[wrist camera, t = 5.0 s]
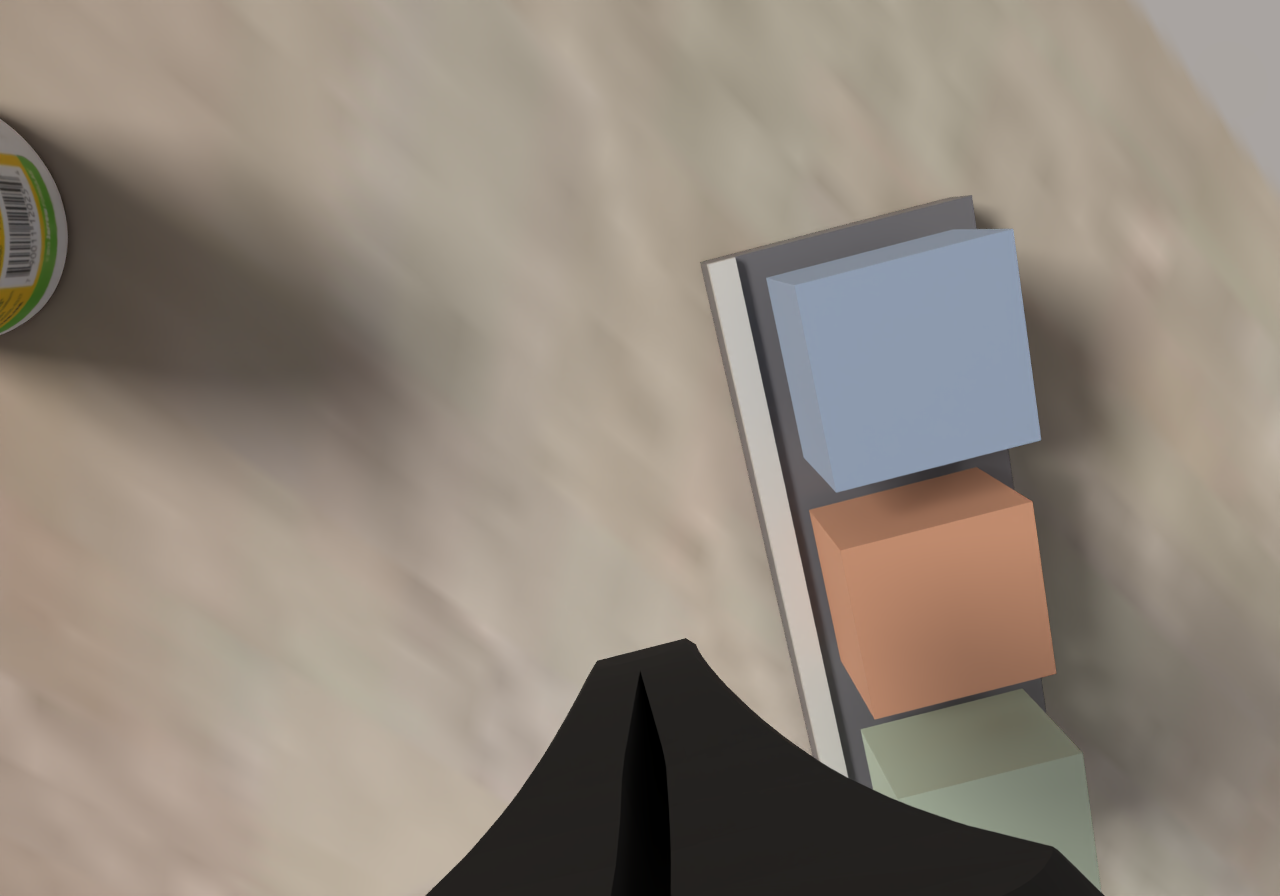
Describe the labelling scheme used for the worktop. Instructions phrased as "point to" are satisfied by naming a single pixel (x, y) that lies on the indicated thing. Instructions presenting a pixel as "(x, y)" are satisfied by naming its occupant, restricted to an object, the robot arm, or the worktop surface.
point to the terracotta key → (935, 590)
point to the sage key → (990, 772)
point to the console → (795, 485)
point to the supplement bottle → (27, 231)
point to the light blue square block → (907, 356)
